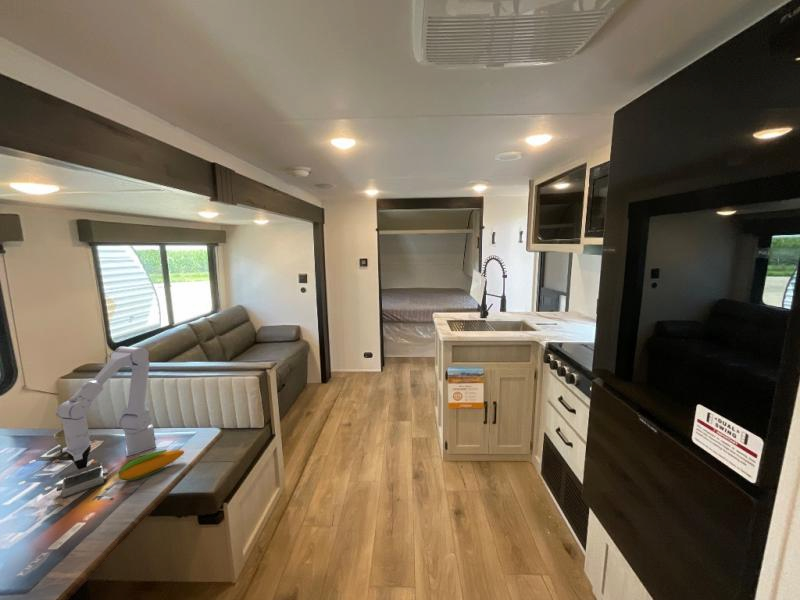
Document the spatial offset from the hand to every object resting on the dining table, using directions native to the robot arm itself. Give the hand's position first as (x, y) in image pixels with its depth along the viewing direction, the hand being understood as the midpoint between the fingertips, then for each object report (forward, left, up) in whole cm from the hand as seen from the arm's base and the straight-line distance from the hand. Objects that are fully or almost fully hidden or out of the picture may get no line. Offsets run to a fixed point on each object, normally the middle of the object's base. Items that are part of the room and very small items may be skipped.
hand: (82, 468), depth 113 cm
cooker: (0, +2, -6) cm, 6 cm away
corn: (-19, +8, -6) cm, 22 cm away
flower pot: (+4, -32, -6) cm, 33 cm away
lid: (0, +1, -1) cm, 1 cm away
